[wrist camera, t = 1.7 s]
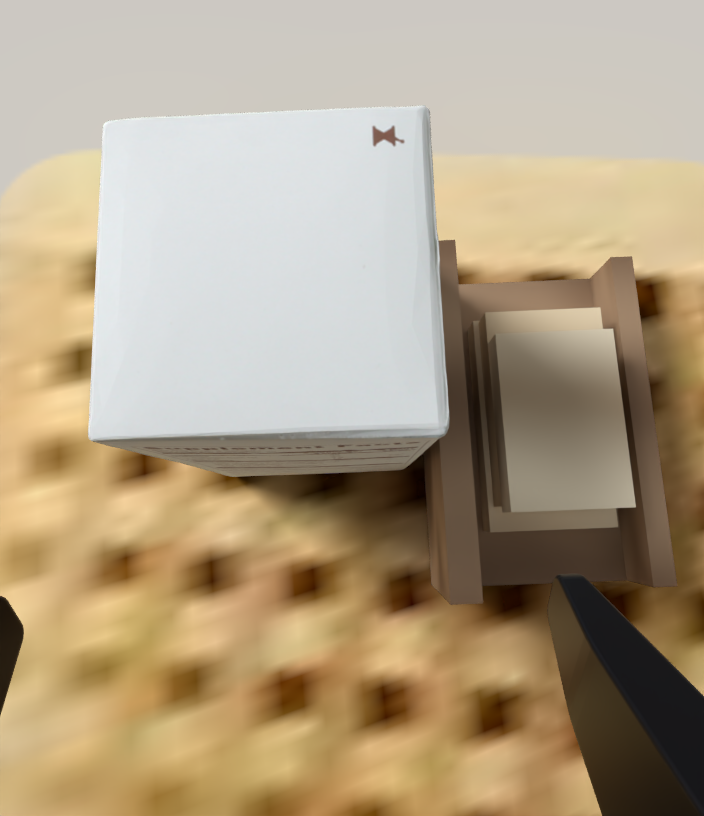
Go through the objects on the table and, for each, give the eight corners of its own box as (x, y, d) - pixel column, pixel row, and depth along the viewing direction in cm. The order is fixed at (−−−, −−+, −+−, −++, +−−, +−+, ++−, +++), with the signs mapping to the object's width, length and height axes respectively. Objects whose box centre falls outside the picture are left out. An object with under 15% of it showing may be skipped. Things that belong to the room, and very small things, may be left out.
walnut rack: (635, 576, 22) (712, 594, 17) (431, 584, 22) (450, 604, 18) (599, 287, 25) (658, 230, 20) (413, 295, 25) (426, 241, 20)
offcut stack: (604, 526, 22) (651, 529, 18) (483, 531, 22) (507, 534, 18) (580, 325, 23) (620, 291, 20) (467, 330, 23) (486, 297, 20)
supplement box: (230, 309, 25) (96, 103, 12) (401, 304, 25) (441, 91, 12) (227, 481, 23) (72, 444, 11) (408, 476, 23) (460, 435, 11)
